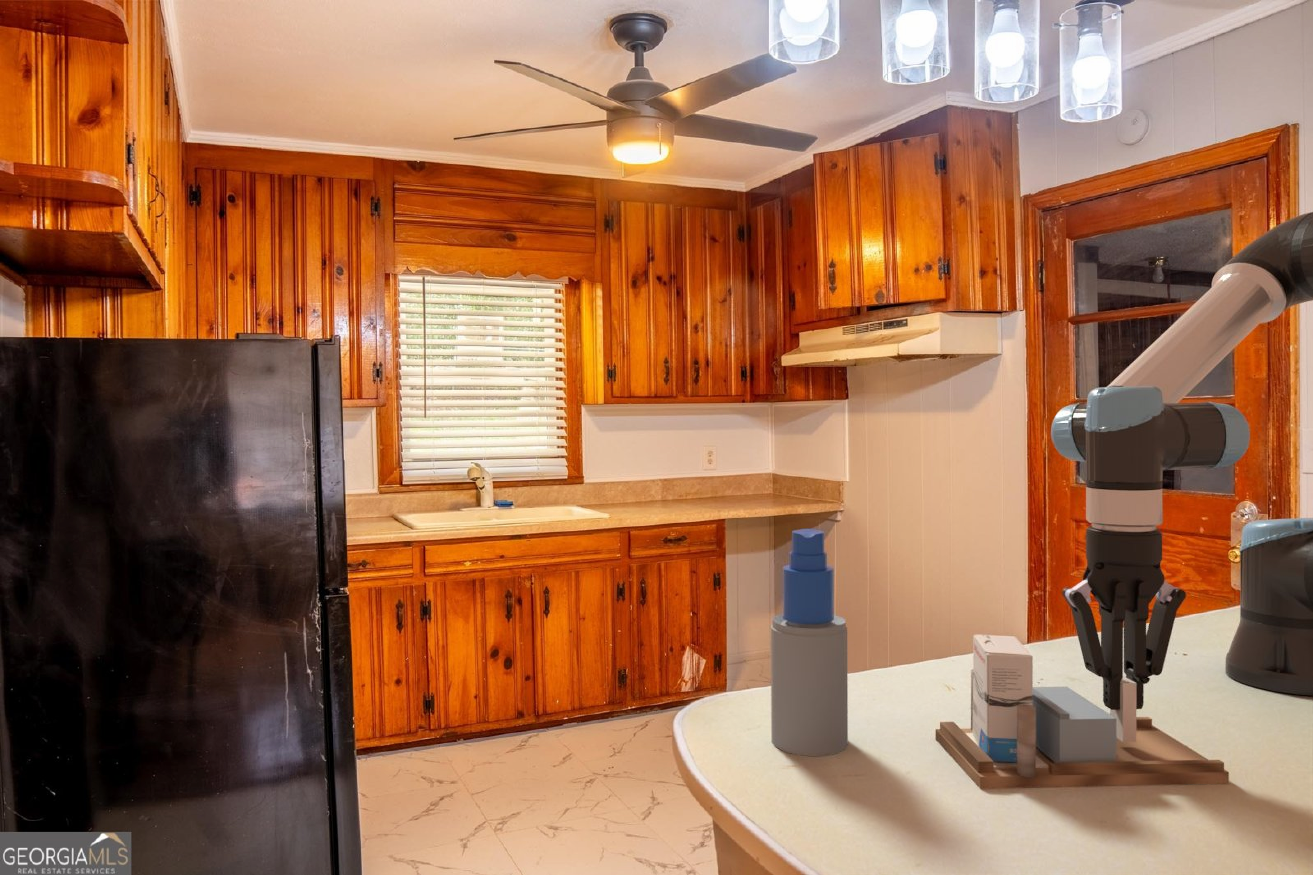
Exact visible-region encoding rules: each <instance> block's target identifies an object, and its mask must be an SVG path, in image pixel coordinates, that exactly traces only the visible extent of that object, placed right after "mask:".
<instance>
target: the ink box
mask: <svg viewBox="0 0 1313 875" xmlns="http://www.w3.org/2000/svg"><path fill="white" fill-rule="evenodd" d="M972 641H973V645H972V646H973V649H972V650H973V651H972V652H973V654H972V655H973V658H972V659H973V661H972V663H973V664H972V666H973V667H972V669H973V736H974V738H975V740H976V741H977V743H978V745H979V747H980V748H981V749H982V750H983V751H984V752H985V753H986V754H987V755H988V756H989V757H990V758H991V759H992V760H993V761H998V762H1017V706H1018V705H1022V704H1025V705H1031V706H1033V697H1032V696H1033V687H1034V685H1033V682H1034V681H1033V680H1034V679H1033V678H1034V676H1033V674H1034V673H1033V672H1034V671H1033V668H1034V667H1033V666H1034V665H1033V663H1034V662H1033V655H1032V654H1031V653H1030V652H1029V650H1028V649H1027V648H1026V647H1025V646H1024V645H1023V644H1022V642H1021V641H1020V640H1019V639H1018V637H1016V636H1014V635H1013V636H1012V635H1011V636H1010V635H992V634H974V635H973V640H972Z"/></svg>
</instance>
